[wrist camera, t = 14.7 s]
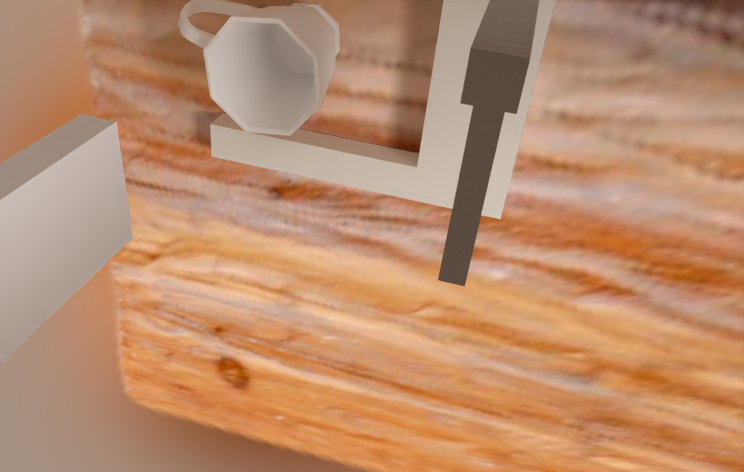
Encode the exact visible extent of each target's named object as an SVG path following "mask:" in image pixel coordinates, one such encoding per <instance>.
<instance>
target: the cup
mask: <svg viewBox="0 0 744 472" xmlns="http://www.w3.org/2000/svg"><path fill="white" fill-rule="evenodd" d="M201 12H211V13H220V14H226V15H231V17H230V18H229V19H228V20H227V22H226V23H225V24H224V25H223V27H222V28H221V29H220V30H219V31H218V33H217V34H216V35H213V34H211V33H208V32H205V31H203V30H200V29H198V28H196V27H194V26H193V25H192V24H191V23H190V22H189V20H188V18H189V17H190V16H191V15H192V14H195V13H201ZM178 27H179V30H180V32H181V34H182V36H184V37H185V38H186V39H187V40H189V41H190V42H192V43H194V44H196V45H197V46H199V47H201V48H203V49H204V50H203V54H204V60H205V66H206V73H207V79H208V86H209V92H210V98H211V99H212V100H213V101H214V102H215V103H216V104H218V105H219V106H220V107H221V108H222V109H223V110H224V111H225V112H226V113H227V114H228V115H229V116H230V117H231V118H232V119H233V120H234V121H235V122H236V123H237V124H238V125H239V126H240V127H241V128H242V129H243V130H244V131H246V132H254V133H265V134H275V135H286V136H291V135H292V134H293V133H294V132H295V131H296V130H297V129H298V128H299V127H300V126H301V125H302V124H303V123H304V122H305V121H306V120H307V119H308V118H309V117H310V116H311V115H312V114H313V113H314V112H315V111H316V110H317V109H319V108H320V106H321V104H322V101H323V99H324V96H325V94H326V91H327V88H328V86H329V83H330V81H331V78H332V76H333V74H334V69H335V61H336V55H337V54H338V53H339V51H340V38H339V24H338V23H337V22H336V21H335V20H334V18H333V17H332V16H331V15H330V14H329V13H328V12H327V11H326V10H325V9H324V8H323V7H322V6H321V5H320V4H314V3H293V4H292V5H291V6H269V7H265V8H261V9H260V8H257V7H254V6H249V5H245V4H240V3H236V2H231V1H226V0H191V1H190V2H188V3H187V4H185V5H184V7H183V9H182V11H181V12H180V16H179V21H178Z"/></svg>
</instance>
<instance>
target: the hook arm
mask: <svg viewBox="0 0 744 472" xmlns="http://www.w3.org/2000/svg"><path fill="white" fill-rule="evenodd" d="M538 6H539V0H490V1H489V3H488V6H487V8H486V11H485V13H484V16H483V18H482V21H481V23H480V26H479V28H478V31H477V33H476V36H475V38H474V41H473V43H472V46H471V48H470V54H469V59H468V64H467V70H466V75H465V80H464V86H463V91H462V96H461V101H460V103H461V104H466V105H471V106H473V109H472V114H471V119H470V124H469V129H468V134H467V139H466V144H465V149H464V154H463V159H462V164H461V169H460V174H459V179H458V184H457V189H456V194H455V199H454V204H453V209H452V214H451V219H450V224H449V229H448V234H447V238H446V243H445V248H444V253H443V258H442V263H441V268H440V273H439V278H438V280H440V281H444V282H448V283H453V284H457V285H461V286H465V282H466V278H467V274H468V269H469V265H470V261H471V257H472V252H473V248H474V244H475V239H476V235H477V231H478V226H479V222H480V218H481V213H482V209H483V205H484V200H485V196H486V192H487V187H488V183H489V179H490V174H491V170H492V166H493V161H494V157H495V153H496V149H497V144H498V140H499V136H500V131H501V127H502V123H503V118H504V114H505V112H508V113H513V114H517V111H518V107H519V103H520V99H521V95H522V90H523V86H524V82H525V78H526V74H527V70H528V66H529V62H530V57H531V51H532V44H533V38H534V31H535V25H536V19H537V12H538Z"/></svg>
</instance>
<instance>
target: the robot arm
mask: <svg viewBox="0 0 744 472" xmlns="http://www.w3.org/2000/svg"><path fill="white" fill-rule="evenodd" d="M132 239H133V234H132V227H131V220H130V213H129V206H128V199H127V192H126V185H125V178H124V171H123V164H122V157H121V150H120V143H119V136H118V129H117V122H116V121H111V120H107V119H102V118H98V117H93V116H89V115H84V114H80V115H79V116H77V117H76V118H74V119H72V120H71V121H69V122H67V123H66V124H64V125H63V126H61V127H59V128H58V129H56V130H54V131H53V132H51V133H50V134H48V135H46V136H45V137H43V138H41V139H40V140H38V141H37V142H35V143H33V144H32V145H30V146H29V147H27V148H25V149H24V150H22V151H20V152H19V153H17V154H16V155H14V156H12V157H11V158H9V159H7V160H6V161H4V162H3V163H1V164H0V364H1V363H2V362H3V361H4V360H5V359H6V358H7V357H8V356H9V355H10V354H11V353H12V352H13V351H14V350H15V349H16V348H17V347H19V346H20V345H21V344H22V343H23V342H24V341H25V340H26V339H27V338H28V337H29V336H30V335H31V334H32V333H33V332H34V331H35V330H37V329H38V328H39V327H40V326H41V325H42V324H43V323H44V322H45V321H46V320H47V319H48V318H49V317H50V316H51V315H52V314H53V313H54V312H56V311H57V309H59V308H60V307H61V306H62V305H63V304H64V303H65V302H66V301H67V300H68V299H69V298H70V297H71V296H72V295H73V294H75V293H76V292H77V291H78V290H79V289H80V288H81V287H82V286H83V285H84V284H85V283H86V282H87V281H88V280H89V279H90V278H91V277H92V276H94V275H95V274H96V273H97V272H98V270H100V269H101V268H102V267H103V266H104V265H105V264H106V263H107V262H108V261H109V260H110V259H111V258H113V257H114V256H115V255H116V254H117V253H118V252H119V251H120V250H121V249H122V248H123V247H124V246H125V245H126V244H127V243H128V242H129V241H130V240H132Z"/></svg>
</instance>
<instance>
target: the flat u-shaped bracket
mask: <svg viewBox="0 0 744 472" xmlns="http://www.w3.org/2000/svg"><path fill="white" fill-rule="evenodd" d="M489 1H490V0H443V7H442V13H441V19H440V26H439V32H438V38H437V45H436V51H435V57H434V64H433V70H432V76H431V83H430V89H429V95H428V102H427V108H426V114H425V120H424V127H423V133H422V139H421V146H420V152H419V153H414V152H410V151H405V150H400V149H395V148H390V147H385V146H380V145H376V144H371V143H366V142H361V141H356V140H351V139H346V138H342V137H337V136H332V135H327V134H322V133H317V132H312V131H308V130H303V129H297V130H296V131H295V132H294V133H293V134H292V135H291V136H286V135H275V134H265V133H254V132H246V131H244V130H243V129H242V128H241V127H240V126H239V125H238V124H237V123H236V122H235V121H234V120H233V119H232V118H231V117H230V116H229V115H228V114H225V113H222V114H221V115H220V116H219V117H218V118H217V119H215V120H214V121H213V122H212V123H211V124H210V132H211V156H212V157H216V158H220V159H225V160H230V161H234V162H239V163H243V164H248V165H253V166H257V167H262V168H267V169H271V170H276V171H280V172H285V173H290V174H294V175H299V176H303V177H308V178H313V179H317V180H322V181H326V182H331V183H336V184H340V185H345V186H350V187H354V188H359V189H363V190H368V191H373V192H377V193H382V194H386V195H391V196H396V197H400V198H405V199H410V200H414V201H419V202H423V203H428V204H433V205H437V206H442V207H446V208H451V209H453V204H454V199H455V194H456V189H457V184H458V179H459V174H460V169H461V164H462V159H463V154H464V149H465V144H466V139H467V134H468V129H469V124H470V119H471V114H472V109H473V106H471V105H466V104H461V103H460V101H461V96H462V91H463V86H464V80H465V75H466V70H467V64H468V59H469V54H470V48H471V46H472V43H473V41H474V38H475V36H476V33H477V31H478V28H479V26H480V23H481V21H482V18H483V16H484V13H485V11H486V8H487V6H488V3H489ZM555 1H556V0H539V6H538V12H537V19H536V25H535V31H534V38H533V44H532V51H531V57H530V62H529V66H528V70H527V74H526V78H525V82H524V86H523V90H522V95H521V99H520V103H519V107H518V111H517V114H513V113H508V112H505V114H504V118H503V123H502V127H501V131H500V136H499V140H498V144H497V149H496V153H495V157H494V161H493V166H492V170H491V174H490V179H489V183H488V187H487V192H486V196H485V200H484V205H483V209H482V213H481V215H483V216H488V217H493V218H497V219H501V215H502V211H503V207H504V203H505V199H506V195H507V191H508V187H509V183H510V179H511V175H512V171H513V167H514V163H515V159H516V155H517V151H518V147H519V144H520V140H521V136H522V132H523V128H524V124H525V120H526V116H527V112H528V108H529V104H530V100H531V96H532V92H533V88H534V84H535V80H536V76H537V72H538V68H539V64H540V60H541V56H542V52H543V48H544V44H545V40H546V36H547V33H548V29H549V25H550V21H551V17H552V13H553V9H554V5H555Z"/></svg>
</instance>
